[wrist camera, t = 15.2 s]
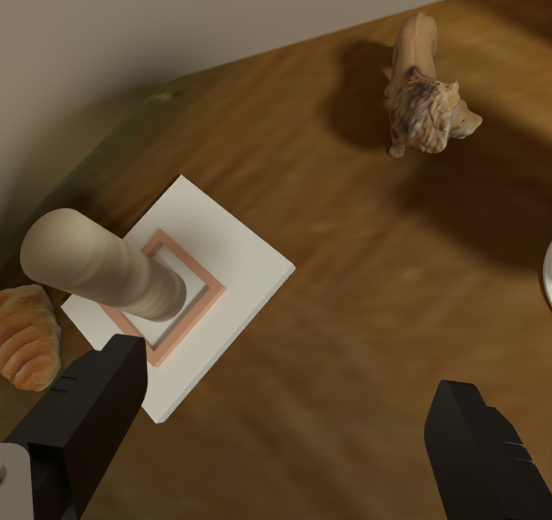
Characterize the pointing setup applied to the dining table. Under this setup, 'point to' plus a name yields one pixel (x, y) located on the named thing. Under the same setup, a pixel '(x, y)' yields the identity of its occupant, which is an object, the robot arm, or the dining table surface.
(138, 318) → the board
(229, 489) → the dining table surface
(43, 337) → the pastry
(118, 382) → the robot arm
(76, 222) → the maple pin
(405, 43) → the lion figurine
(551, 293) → the panda figurine
